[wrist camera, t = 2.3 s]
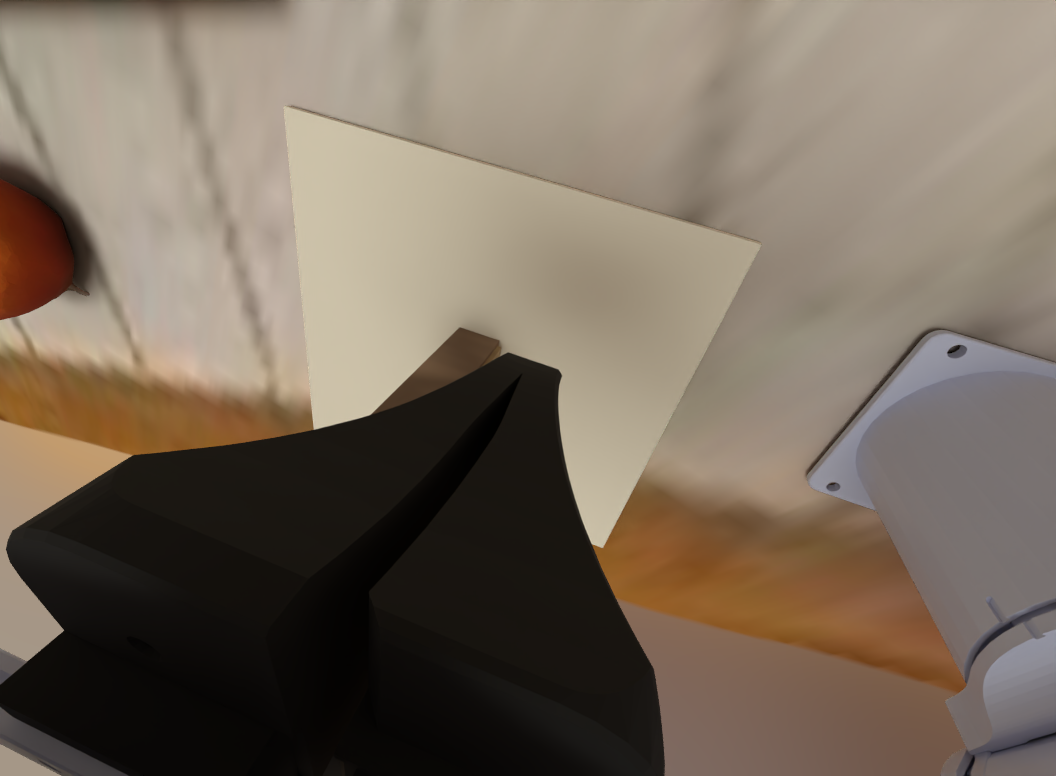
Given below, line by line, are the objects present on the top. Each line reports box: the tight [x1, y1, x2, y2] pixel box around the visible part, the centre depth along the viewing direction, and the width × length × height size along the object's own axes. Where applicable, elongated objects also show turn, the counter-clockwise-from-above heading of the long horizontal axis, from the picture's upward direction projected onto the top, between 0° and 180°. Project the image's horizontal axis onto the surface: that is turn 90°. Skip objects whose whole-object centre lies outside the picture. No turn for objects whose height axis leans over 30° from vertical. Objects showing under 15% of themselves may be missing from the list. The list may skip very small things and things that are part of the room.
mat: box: [284, 106, 762, 548], centre depth 21 cm, size 19×18×1 cm
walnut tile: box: [371, 327, 502, 415], centre depth 19 cm, size 2×6×8 cm, turn 167°
